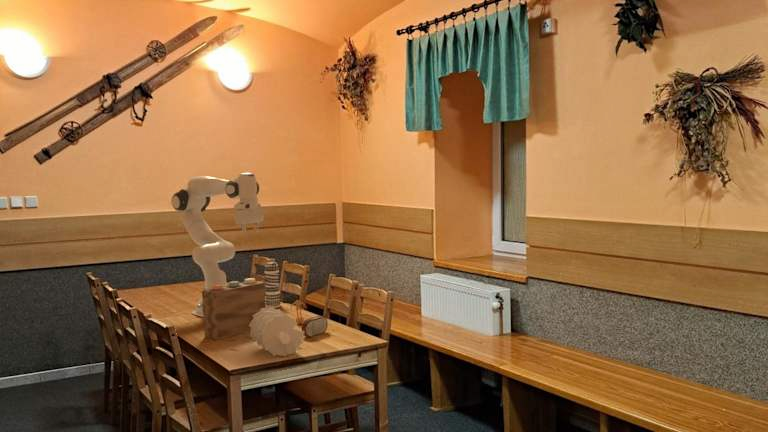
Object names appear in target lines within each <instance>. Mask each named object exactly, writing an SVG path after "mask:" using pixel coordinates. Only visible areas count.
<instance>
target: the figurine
mask: <svg viewBox="0 0 768 432" xmlns="http://www.w3.org/2000/svg"><path fill="white" fill-rule="evenodd" d="M301 304H302V305H303V306H304V307H305V309H307V308H308V307H307V306H306V304H305V303H304V302H301V301H300V300H299V299H297V300H296V301H294V302H293V303H292V304H291V306H290V311H292V309H293V306H294V305H296V306H295V311H296V315H297V317H296V318H295V321H296V324H297V325H302V324H303V322H304V321H305V318H304V317H303V316H302V311H303V310H302V306H300V305H301Z"/></svg>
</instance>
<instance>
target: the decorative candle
mask: <svg viewBox="0 0 768 432" xmlns="http://www.w3.org/2000/svg"><path fill="white" fill-rule="evenodd" d="M280 274H281V272H280V271H279V264H278V263H277V262H275V261H267V262H266V263H265V264H264V272H263V282H264V284H265V304H266V308H270V306H272V307H273V308H275V309H276V308H279V307H282V305H281V303H282V302H281V301H282V300H281V292H280V286H281V284H280V283H281V281H280V280H281V278H279V277H281V275H280Z"/></svg>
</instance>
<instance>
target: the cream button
mask: <svg viewBox="0 0 768 432" xmlns="http://www.w3.org/2000/svg"><path fill="white" fill-rule="evenodd" d="M255 281H256V278H255V277H252V278H251V277H249V278H245V279H244V282H245V284H249V285H250V284H254V283H255Z"/></svg>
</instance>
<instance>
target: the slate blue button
mask: <svg viewBox="0 0 768 432" xmlns="http://www.w3.org/2000/svg"><path fill="white" fill-rule="evenodd" d="M239 283H240V281H237V280H234V281H229V282H228V285H229V287H230V288H235V287H239Z"/></svg>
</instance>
